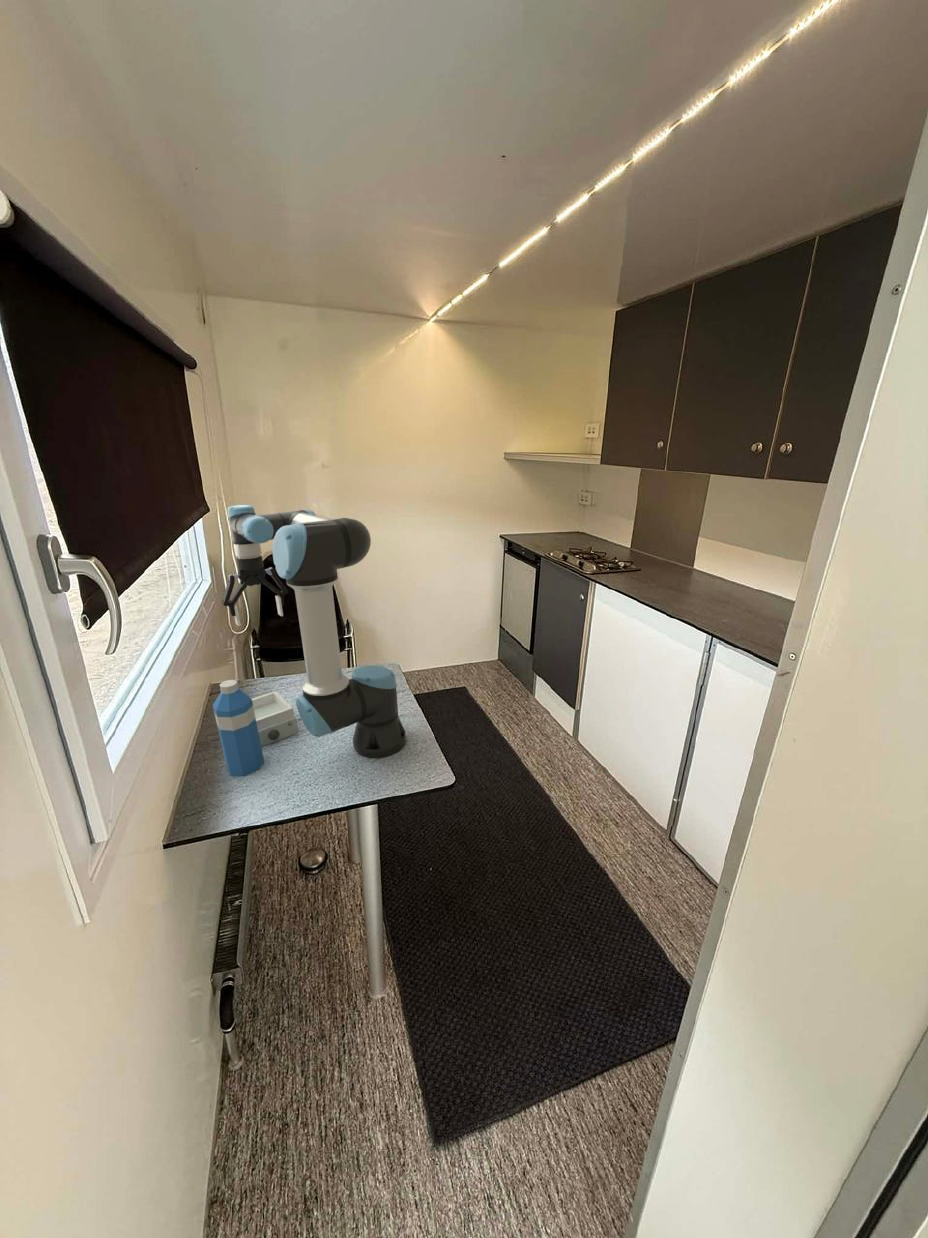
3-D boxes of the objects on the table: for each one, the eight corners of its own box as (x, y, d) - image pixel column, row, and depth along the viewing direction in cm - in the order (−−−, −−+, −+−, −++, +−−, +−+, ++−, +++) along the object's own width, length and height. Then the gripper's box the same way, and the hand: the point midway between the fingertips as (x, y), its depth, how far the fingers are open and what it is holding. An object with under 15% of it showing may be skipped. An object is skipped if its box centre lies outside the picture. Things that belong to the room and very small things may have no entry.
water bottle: (223, 780, 124) (204, 694, 115) (229, 758, 132) (211, 678, 123) (262, 773, 126) (245, 689, 117) (265, 752, 134) (250, 672, 126)
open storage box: (298, 733, 143) (295, 710, 140) (250, 752, 135) (245, 728, 132) (278, 711, 155) (274, 690, 152) (233, 727, 147) (228, 705, 144)
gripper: (284, 548, 159) (292, 608, 166) (202, 560, 144) (216, 626, 151) (292, 551, 153) (301, 613, 161) (208, 564, 138) (222, 632, 146)
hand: (260, 620), depth 156 cm, fingers open, 13 cm apart
